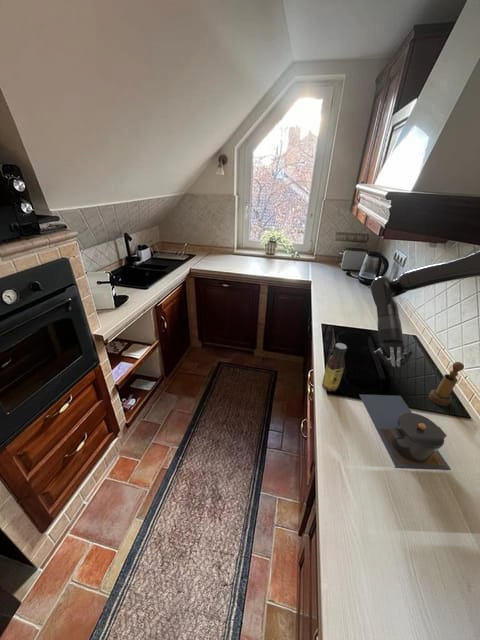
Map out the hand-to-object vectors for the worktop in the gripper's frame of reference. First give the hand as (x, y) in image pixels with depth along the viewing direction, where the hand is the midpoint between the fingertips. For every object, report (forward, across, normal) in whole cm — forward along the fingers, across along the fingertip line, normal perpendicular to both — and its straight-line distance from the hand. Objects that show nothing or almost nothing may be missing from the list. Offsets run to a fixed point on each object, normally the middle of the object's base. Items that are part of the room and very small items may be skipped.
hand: (395, 378), depth 88 cm
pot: (+21, 0, -3) cm, 21 cm away
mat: (+16, 0, +2) cm, 16 cm away
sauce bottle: (+4, -18, +15) cm, 24 cm away
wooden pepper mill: (+7, +22, +11) cm, 26 cm away
